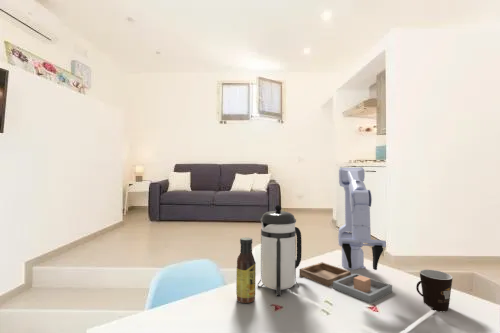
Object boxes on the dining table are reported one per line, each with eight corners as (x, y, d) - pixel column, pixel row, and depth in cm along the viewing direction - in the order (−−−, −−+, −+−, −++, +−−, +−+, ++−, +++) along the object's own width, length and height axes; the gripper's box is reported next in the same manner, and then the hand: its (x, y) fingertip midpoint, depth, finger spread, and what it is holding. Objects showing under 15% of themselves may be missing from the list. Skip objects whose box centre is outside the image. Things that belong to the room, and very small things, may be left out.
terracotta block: (360, 286, 100) (360, 275, 100) (370, 290, 97) (370, 278, 97) (353, 289, 98) (353, 277, 98) (364, 293, 95) (364, 281, 95)
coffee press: (302, 299, 92) (302, 207, 93) (254, 295, 95) (255, 206, 95) (301, 278, 109) (301, 202, 110) (260, 276, 112) (261, 201, 112)
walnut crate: (322, 269, 120) (322, 262, 120) (351, 279, 109) (350, 271, 109) (299, 276, 112) (299, 269, 112) (328, 288, 101) (328, 280, 101)
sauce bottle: (253, 305, 88) (253, 241, 88) (234, 303, 89) (234, 240, 89) (257, 296, 94) (257, 237, 94) (239, 294, 95) (239, 236, 96)
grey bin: (355, 281, 107) (355, 273, 107) (392, 294, 96) (392, 285, 96) (332, 290, 99) (332, 281, 99) (370, 305, 88) (370, 296, 88)
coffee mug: (442, 300, 91) (442, 270, 91) (459, 314, 83) (459, 280, 83) (405, 299, 92) (404, 268, 92) (418, 312, 84) (417, 278, 84)
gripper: (339, 225, 91) (340, 268, 89) (387, 227, 88) (389, 272, 86) (337, 224, 98) (338, 265, 95) (381, 226, 95) (383, 268, 93)
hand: (362, 268), depth 91 cm, fingers open, 7 cm apart
